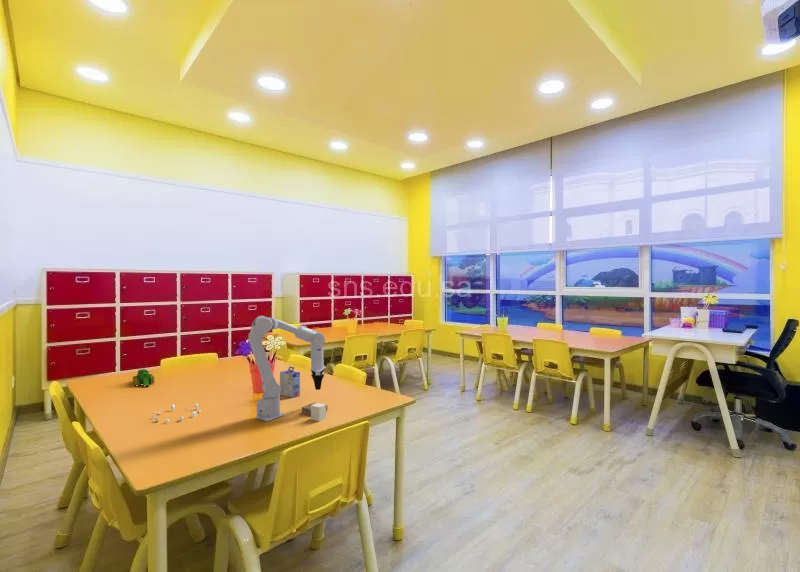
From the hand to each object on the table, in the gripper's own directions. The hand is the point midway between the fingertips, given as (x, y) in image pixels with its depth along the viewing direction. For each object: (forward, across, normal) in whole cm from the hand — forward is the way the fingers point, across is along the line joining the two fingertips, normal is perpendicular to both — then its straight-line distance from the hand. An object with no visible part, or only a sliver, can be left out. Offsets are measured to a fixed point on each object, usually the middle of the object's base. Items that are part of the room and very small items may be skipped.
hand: (317, 387), depth 182 cm
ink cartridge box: (+10, +25, +13) cm, 30 cm away
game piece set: (+10, +8, +61) cm, 63 cm away
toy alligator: (+10, +79, +101) cm, 128 cm away
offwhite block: (+10, -14, 0) cm, 18 cm away
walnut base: (+10, -5, +2) cm, 11 cm away
